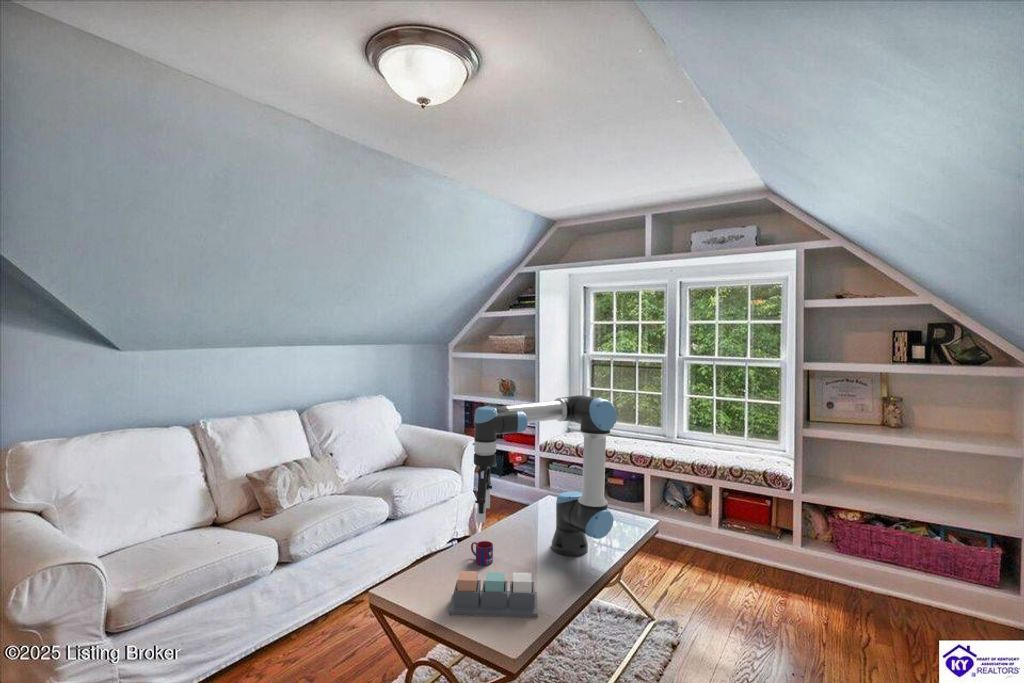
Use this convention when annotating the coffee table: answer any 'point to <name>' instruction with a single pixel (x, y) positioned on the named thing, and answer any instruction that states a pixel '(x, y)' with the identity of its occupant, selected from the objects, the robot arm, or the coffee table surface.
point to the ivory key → (522, 583)
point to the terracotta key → (467, 581)
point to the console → (494, 603)
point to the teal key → (494, 582)
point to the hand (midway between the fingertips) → (483, 514)
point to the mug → (483, 552)
